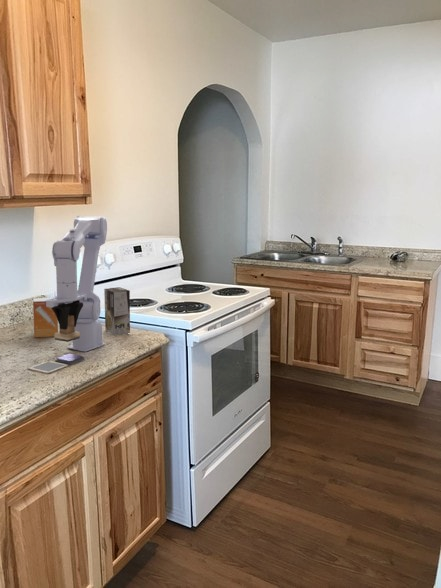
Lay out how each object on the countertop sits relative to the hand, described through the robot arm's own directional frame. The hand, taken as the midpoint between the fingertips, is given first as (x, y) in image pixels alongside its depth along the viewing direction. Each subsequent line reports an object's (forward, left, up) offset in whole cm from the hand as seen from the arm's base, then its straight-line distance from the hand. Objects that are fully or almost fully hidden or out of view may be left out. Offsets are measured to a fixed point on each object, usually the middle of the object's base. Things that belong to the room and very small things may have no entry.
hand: (68, 327), depth 146 cm
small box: (-19, -28, -11) cm, 35 cm away
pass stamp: (0, 0, -4) cm, 4 cm away
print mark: (+7, -1, -10) cm, 13 cm away
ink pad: (-1, 0, -10) cm, 10 cm away
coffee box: (-35, -9, -11) cm, 37 cm away
